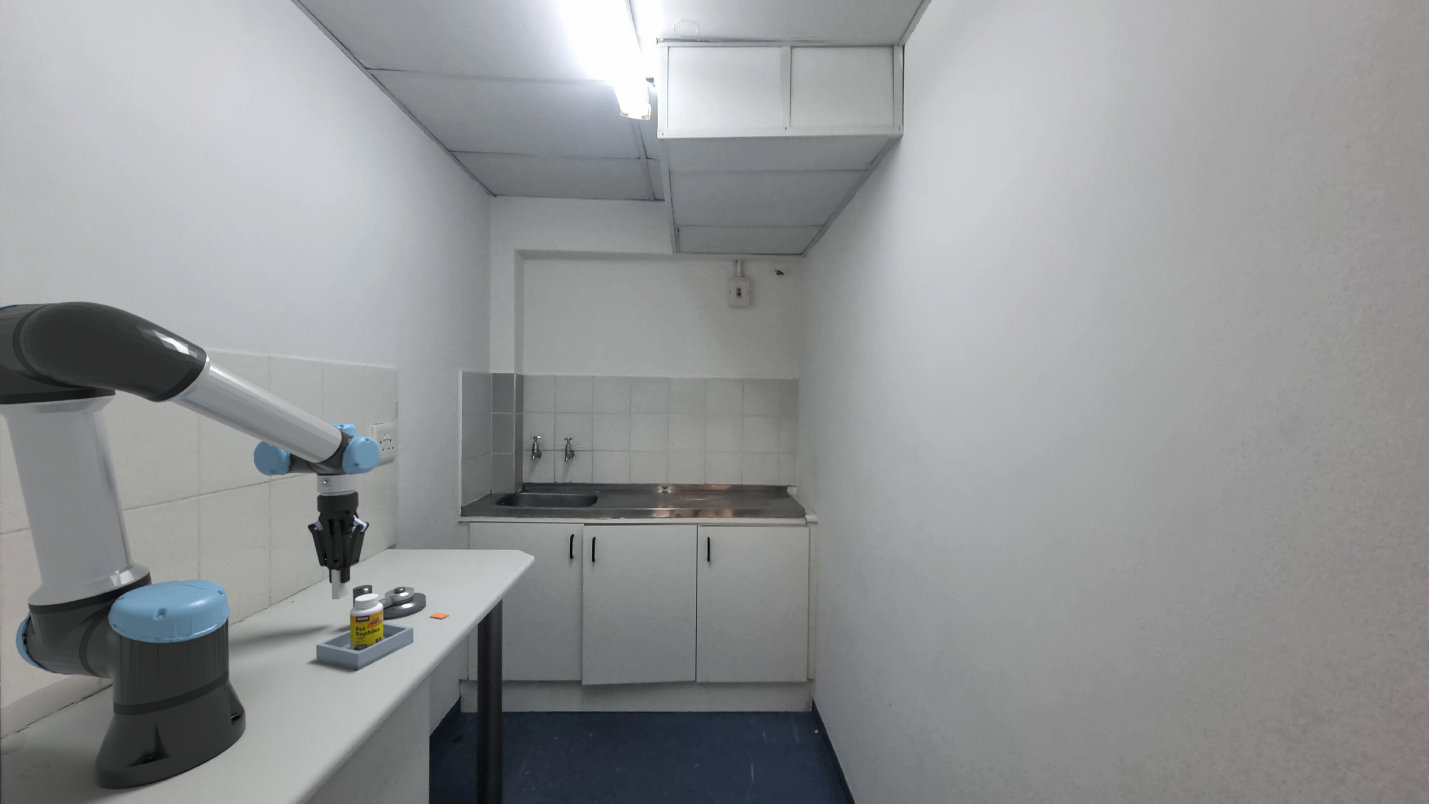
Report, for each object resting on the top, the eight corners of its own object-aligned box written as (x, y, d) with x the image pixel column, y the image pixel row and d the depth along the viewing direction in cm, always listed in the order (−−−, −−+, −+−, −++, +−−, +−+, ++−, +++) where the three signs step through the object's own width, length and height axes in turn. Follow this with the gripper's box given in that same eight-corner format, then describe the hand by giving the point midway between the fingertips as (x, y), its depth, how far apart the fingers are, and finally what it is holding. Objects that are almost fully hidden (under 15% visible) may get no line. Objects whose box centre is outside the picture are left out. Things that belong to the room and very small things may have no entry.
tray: (358, 670, 96) (358, 654, 96) (316, 659, 100) (316, 644, 100) (413, 641, 107) (413, 627, 107) (373, 633, 111) (373, 620, 111)
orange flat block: (441, 619, 118) (441, 618, 118) (430, 617, 119) (429, 616, 119) (448, 615, 120) (448, 614, 120) (437, 613, 121) (437, 612, 121)
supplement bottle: (351, 657, 100) (350, 604, 100) (349, 646, 104) (349, 596, 104) (384, 648, 103) (384, 597, 103) (382, 638, 108) (381, 589, 108)
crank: (401, 594, 128) (401, 569, 128) (419, 596, 126) (419, 571, 126) (345, 616, 115) (345, 589, 115) (364, 620, 113) (364, 592, 113)
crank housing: (395, 622, 117) (395, 613, 117) (361, 615, 121) (361, 607, 121) (436, 603, 127) (436, 595, 127) (403, 598, 131) (403, 590, 131)
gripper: (296, 495, 112) (298, 603, 113) (352, 495, 111) (354, 604, 112) (324, 489, 120) (326, 590, 120) (377, 489, 119) (379, 591, 119)
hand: (340, 596), depth 116 cm, fingers closed
